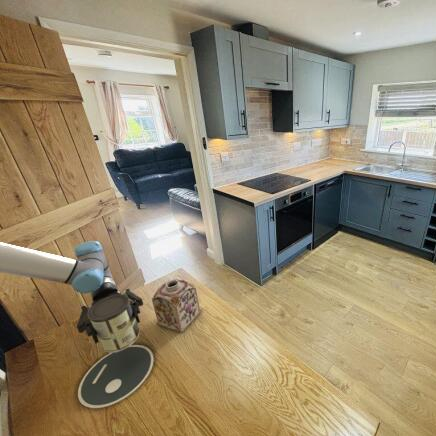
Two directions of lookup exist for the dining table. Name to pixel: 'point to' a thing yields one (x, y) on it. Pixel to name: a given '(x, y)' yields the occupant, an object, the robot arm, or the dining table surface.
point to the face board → (115, 376)
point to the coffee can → (114, 323)
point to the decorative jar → (176, 304)
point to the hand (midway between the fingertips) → (117, 329)
